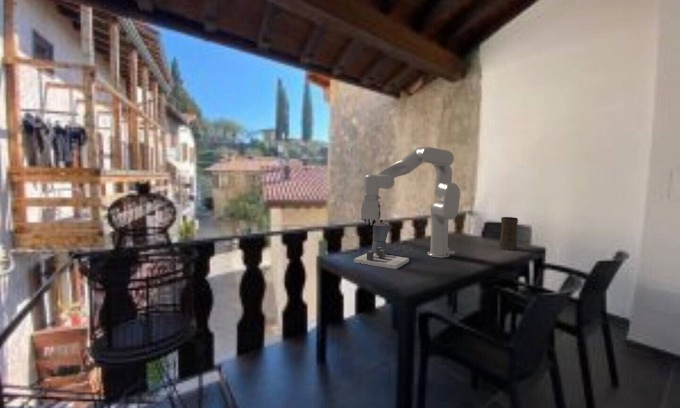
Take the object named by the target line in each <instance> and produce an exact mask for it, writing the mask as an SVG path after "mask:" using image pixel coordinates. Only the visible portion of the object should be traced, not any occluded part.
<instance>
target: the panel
mask: <svg viewBox="0 0 680 408" xmlns="http://www.w3.org/2000/svg"><path fill="white" fill-rule="evenodd" d="M378 256H379V255H376V253H373V259H372V260H367V252H366V253H365V254H363V255H359V256H356V257H355V258H353V264H354V263H356V264H360V263H361V265H362V264H363V265H366V264H367V266H374V267H380V268H385V269H386V268H387V269H393V270H398V268H401V267H402V266H404V265H406V264H408V263H409V261H410V258H409V257H403V256H396V255H391V254H390V255H388V254H385V258H383V259H381V258H378Z"/></svg>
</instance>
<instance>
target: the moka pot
mask: <svg viewBox="0 0 680 408" xmlns="http://www.w3.org/2000/svg"><path fill="white" fill-rule="evenodd" d="M392 228H393V226H392V225H390V224H388V223H385V222H383V219H380V222H376V223H375V224H373V231H372V233H373V235H372V236H371V235H370V232H367V224H366V225H365V230H366V233H367V237H368V239H373V241H372V246H371V250H370V251H373V253H376V252H377V247H383V250H385V255H387V242H386V241H387V238H388V233H389V232H390V230H391V229H392Z"/></svg>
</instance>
